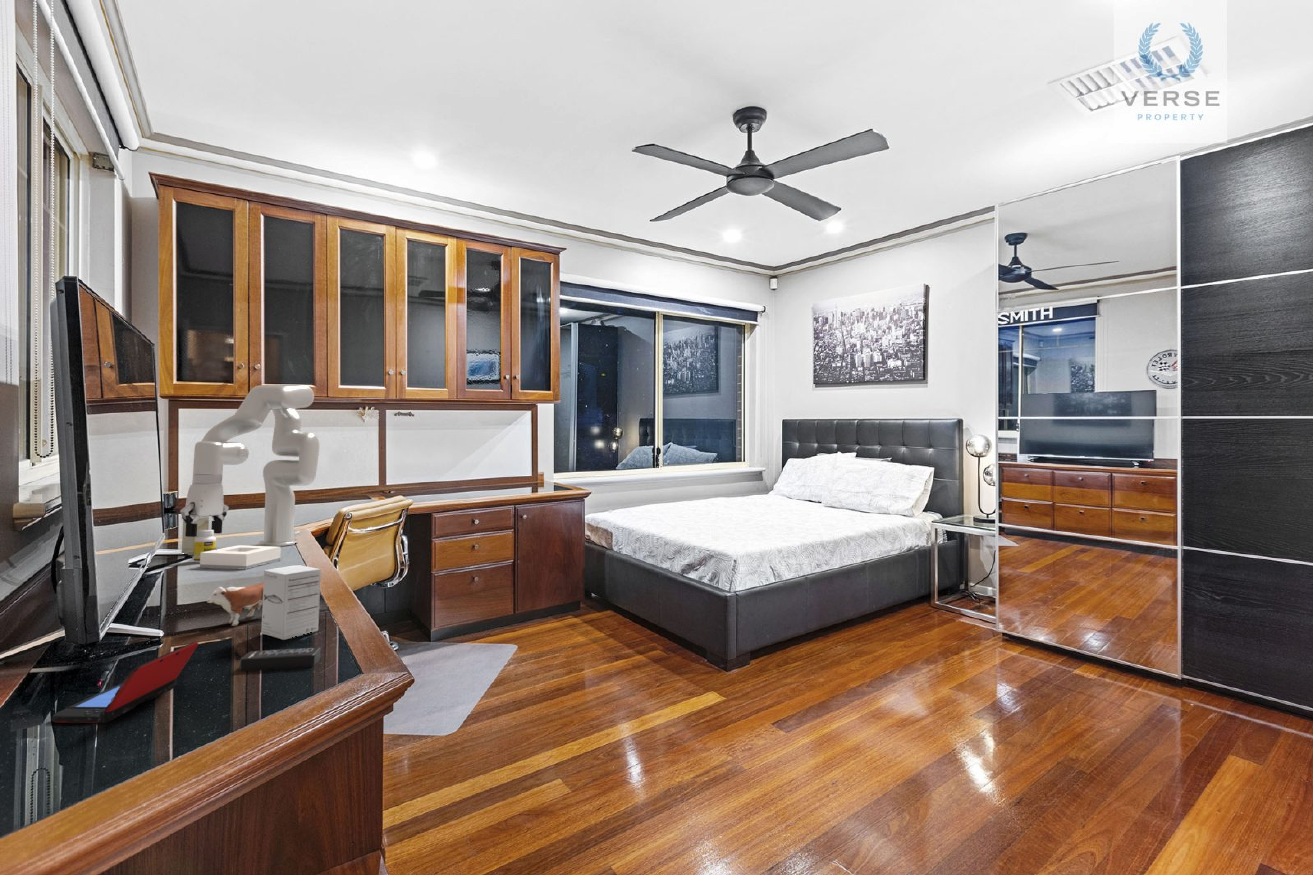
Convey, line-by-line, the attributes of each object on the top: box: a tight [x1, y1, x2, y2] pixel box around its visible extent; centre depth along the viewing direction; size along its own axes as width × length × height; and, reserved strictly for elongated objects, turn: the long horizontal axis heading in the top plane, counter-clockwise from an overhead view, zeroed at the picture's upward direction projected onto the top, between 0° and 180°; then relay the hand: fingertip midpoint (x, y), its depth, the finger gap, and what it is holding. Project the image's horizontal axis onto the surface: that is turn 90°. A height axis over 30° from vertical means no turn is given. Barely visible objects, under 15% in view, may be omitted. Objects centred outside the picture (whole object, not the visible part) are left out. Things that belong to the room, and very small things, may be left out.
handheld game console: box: [51, 641, 199, 724], centre depth 85 cm, size 12×11×7 cm
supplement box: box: [260, 564, 322, 641], centre depth 119 cm, size 7×7×13 cm
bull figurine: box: [206, 581, 264, 627], centre depth 126 cm, size 4×13×8 cm, turn 163°
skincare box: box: [181, 516, 210, 556], centre depth 202 cm, size 6×4×12 cm
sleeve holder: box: [199, 544, 282, 570], centre depth 186 cm, size 15×15×4 cm
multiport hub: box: [239, 646, 321, 672], centre depth 101 cm, size 4×11×2 cm, turn 105°
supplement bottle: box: [193, 529, 217, 564], centre depth 189 cm, size 5×5×10 cm
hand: (204, 534), depth 189 cm, fingers open, 9 cm apart
